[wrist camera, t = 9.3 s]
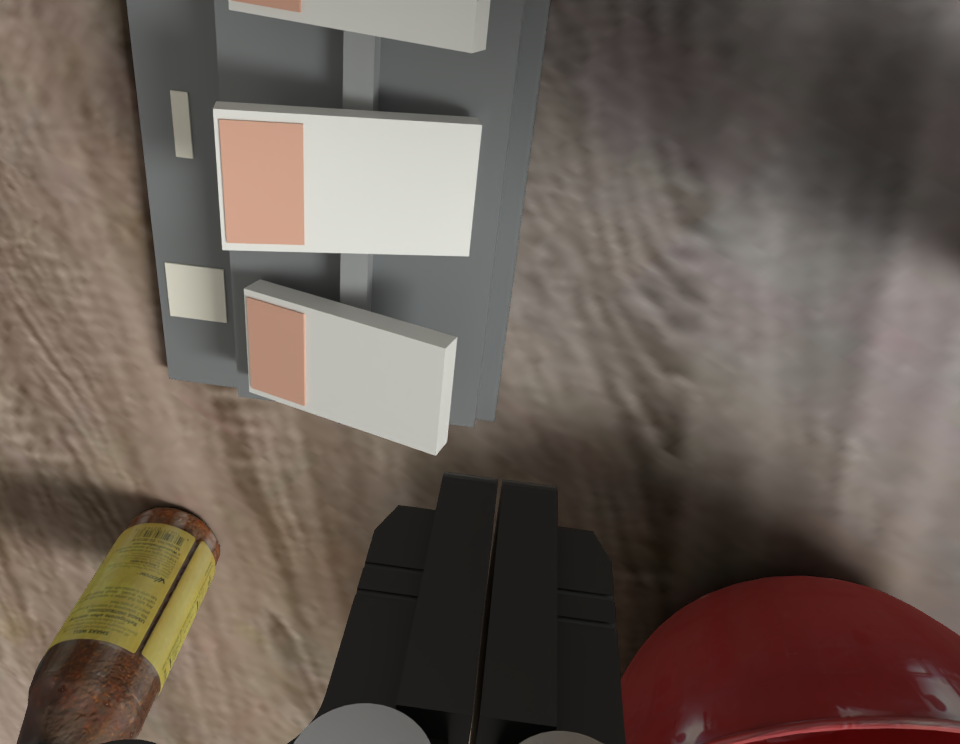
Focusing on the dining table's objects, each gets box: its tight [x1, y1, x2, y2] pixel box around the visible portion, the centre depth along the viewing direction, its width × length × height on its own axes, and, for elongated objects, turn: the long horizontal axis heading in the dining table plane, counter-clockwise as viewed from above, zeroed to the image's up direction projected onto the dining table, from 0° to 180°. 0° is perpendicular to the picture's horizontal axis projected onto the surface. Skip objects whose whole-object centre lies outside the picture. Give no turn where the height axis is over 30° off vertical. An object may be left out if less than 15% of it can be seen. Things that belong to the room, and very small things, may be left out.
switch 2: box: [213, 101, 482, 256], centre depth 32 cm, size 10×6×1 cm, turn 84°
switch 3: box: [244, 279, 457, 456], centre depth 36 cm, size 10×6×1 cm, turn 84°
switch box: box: [126, 0, 551, 428], centre depth 35 cm, size 18×28×5 cm, turn 174°
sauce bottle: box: [17, 507, 220, 744], centre depth 43 cm, size 7×6×20 cm
